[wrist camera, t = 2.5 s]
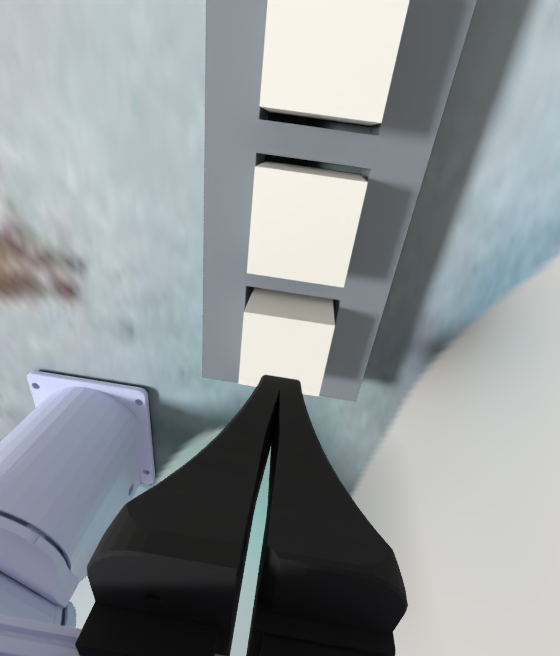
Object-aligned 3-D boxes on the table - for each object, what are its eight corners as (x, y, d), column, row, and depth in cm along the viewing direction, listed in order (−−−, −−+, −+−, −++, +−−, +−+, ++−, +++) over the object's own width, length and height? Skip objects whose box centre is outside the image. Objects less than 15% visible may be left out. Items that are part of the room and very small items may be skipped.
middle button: (339, 262, 16) (343, 287, 13) (258, 251, 16) (246, 272, 13) (358, 173, 14) (367, 182, 11) (266, 160, 14) (254, 166, 12)
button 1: (318, 360, 19) (318, 396, 16) (249, 349, 19) (238, 383, 16) (332, 296, 17) (335, 325, 14) (255, 284, 17) (243, 312, 14)
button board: (352, 373, 21) (356, 401, 18) (214, 352, 21) (202, 377, 19) (468, -46, 12) (503, -87, 10) (227, -76, 12) (207, -123, 10)
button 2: (368, 125, 13) (381, 123, 11) (271, 112, 13) (259, 106, 11) (397, -8, 11) (421, -51, 9) (283, -22, 11) (272, -69, 9)
